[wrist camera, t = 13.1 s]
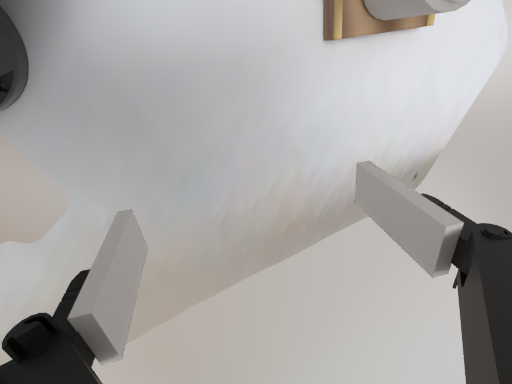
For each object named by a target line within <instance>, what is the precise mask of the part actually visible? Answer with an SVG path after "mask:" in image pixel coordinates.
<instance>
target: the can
mask: <svg viewBox="0 0 512 384" xmlns="http://www.w3.org/2000/svg"><path fill="white" fill-rule="evenodd" d="M469 1H470V0H364V3H365V6H366V7H367V9H368V11H369V13H370V14H371V15H373V16H374V17H375V18H376V19H380V20H384V21H386V20H393V19H400V18H407V17H414V16H421V15H428V14H436V13H443V12H449V11H455V10H457V9H459V8H460V7H462V6H464V5H466V4H467V3H468V2H469Z"/></svg>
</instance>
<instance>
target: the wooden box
mask: <svg viewBox="0 0 512 384" xmlns="http://www.w3.org/2000/svg"><path fill="white" fill-rule="evenodd" d="M434 19H435V14H428V15H421V16H414V17H407V18H400V19H393V20H386V21H384V20H380V19H376V18H375V17H374V16H373V15H371V14H370V13H369V11H368V9H367V7H366V6H365V3H364V0H324V40H337V39H343V38H349V37H356V36H363V35H370V34H376V33H383V32H390V31H397V30H403V29H410V28H417V27H423V26H431V25H434Z"/></svg>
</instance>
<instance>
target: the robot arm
mask: <svg viewBox="0 0 512 384" xmlns="http://www.w3.org/2000/svg"><path fill="white" fill-rule="evenodd" d="M27 76H28V62H27V56H26V51H25V48H24V45H23V42H22V40H21V38H20V35H19V33H18V32H17V30H16V28H15V26H14V25H13V23H12V21H11V20H10V18H9V17H8V16H7V14H6V13H5V12H4V11H3V9H2V8H1V7H0V110H2V109H5V108H6V107H8V106H10V105H11V104H12V103H14V102H15V101H16V100H17V99H18V97H19V96H20V95H21V93H22V91H23V90H24V87H25V85H26V81H27ZM355 203H356V204H357V205H358V206H359V207H360V208H361V209H362V210H363V211H364V212H365V213H366V214H367V215H368V216H369V217H370V218H372V220H373V221H374V222H375V223H377V224H378V225H379V226H380V227H381V228H382V229H383V230H384V231H385V232H386V233H387V234H388V235H389V236H390V237H391V238H392V239H393V240H394V241H395V242H396V243H397V244H398V245H399V246H400V247H401V248H402V249H403V250H404V251H405V252H406V253H407V254H408V255H409V256H410V257H412V258H413V259H414V260H415V261H416V262H417V263H418V264H419V265H420V266H421V267H422V268H423V269H424V270H425V271H426V272H427V273H428V274H429V275H430V276H431V277H432V278H434V277H437V276H441V275H445V274H448V272H449V269H450V266H451V263H452V264H453V265H455V266H456V267H457V268H458V273H457V276H456V278H455V281H454V284H453V288H456V286H457V285H458V296H459V307H460V319H461V330H462V341H463V353H464V364H465V376H466V384H512V233H511V232H510V231H508V230H507V229H505V228H502V227H500V226H498V225H493V224H487V223H481V224H477V223H475V222H473V221H472V220H470V219H469V218H467V217H465V216H464V215H462V214H461V213H459V212H457V211H456V210H454V209H451V207H449V206H448V205H446V204H444V203H443V202H441V201H440V200H438V199H437V198H435V197H432V196H429V195H427V194H419V193H418V192H416V191H415V190H413V189H411V188H410V187H408V186H407V185H405V184H404V183H402V182H401V181H399V180H398V179H396V178H395V177H393V176H392V175H390V174H388V173H387V172H385V171H384V170H382V169H381V168H379V167H378V166H376V165H375V164H373V163H372V162H370V161H365V162H360V163H357V172H356V188H355ZM147 251H148V246H147V244H146V242H145V239H144V237H143V235H142V232H141V230H140V227H139V225H138V223H137V220H136V218H135V215H134V213H133V211H132V209H131V210H126V211H121V212H117V214H116V216H115V218H114V221H113V223H112V225H111V227H110V229H109V231H108V233H107V235H106V238H105V240H104V242H103V244H102V246H101V248H100V250H99V252H98V255H97V257H96V259H95V261H94V263H93V265H92V267H91V269H89V270H84V271H81V272H80V273H79V274H78V275H77V276H76V277H75V278H74V279H73V280H72V281H71V283H70V285H69V286H68V288H67V290H66V293H65V294H64V296H63V298H62V301H61V302H60V303H59V305H58V307H57V309H56V311H55V313H54V315H53V317H51V315H49V314H47V313H38V314H35V315H32V316H30V317H28V318H26V319H24V320H22V321H21V322H19V323H18V324H17V325H16V326H14V327H13V328H12V329H11V330H10V331H9V332H8V334H7V335H6V336H5V338H4V340H3V342H2V349H3V350H4V351H5V352H6V353H7V354H8V355H9V356H10V357H11V358H12V359H13V360H11V361H9V362H7V363H5V364H3V365H1V366H0V384H102V382H101V381H100V379H99V378H98V377H97V375H96V374H95V372H94V371H93V370H92V368H91V367H92V364H93V361H94V358H95V357H96V359H97V360H98V361H99V363H100V364H101V365H104V364H108V363H111V362H115V361H119V360H122V358H123V353H124V349H125V345H126V341H127V336H128V332H129V328H130V323H131V319H132V315H133V311H134V306H135V302H136V298H137V293H138V289H139V285H140V281H141V276H142V272H143V268H144V263H145V259H146V255H147Z"/></svg>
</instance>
